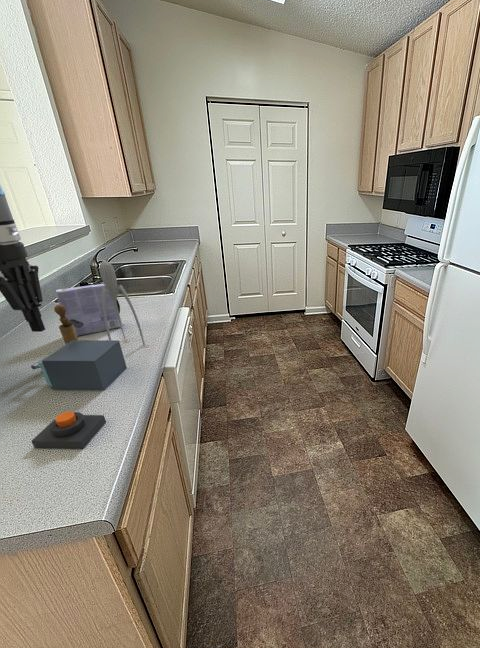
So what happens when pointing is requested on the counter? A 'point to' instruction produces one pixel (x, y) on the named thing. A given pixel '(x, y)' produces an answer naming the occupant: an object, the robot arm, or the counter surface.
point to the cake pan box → (88, 308)
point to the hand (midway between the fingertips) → (38, 330)
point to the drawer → (42, 368)
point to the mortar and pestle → (65, 325)
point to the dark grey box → (85, 365)
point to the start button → (65, 419)
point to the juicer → (113, 294)
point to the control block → (70, 433)
